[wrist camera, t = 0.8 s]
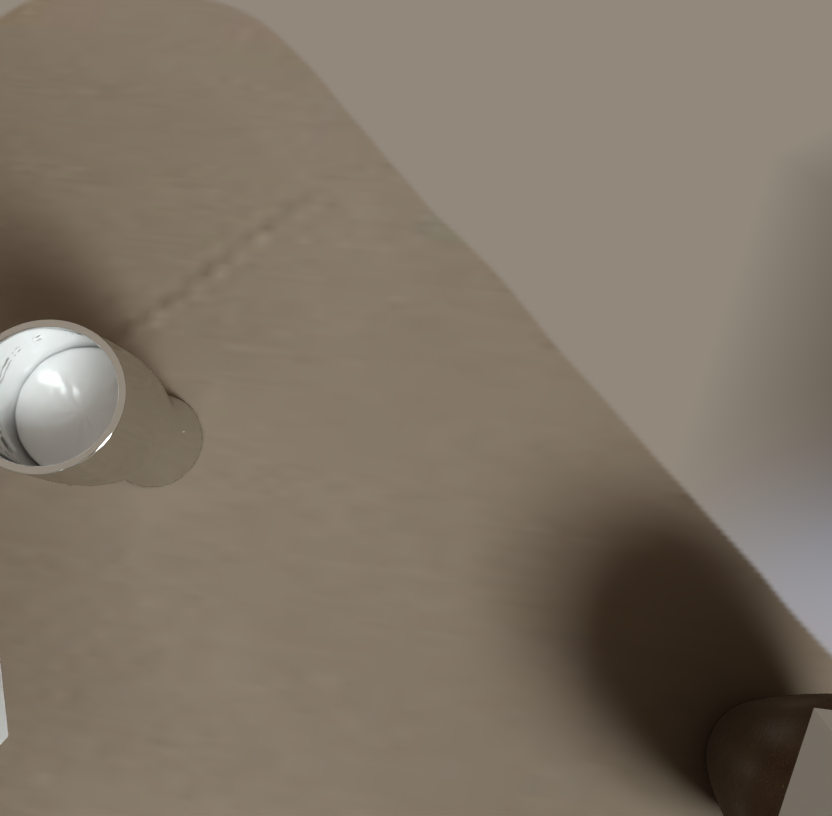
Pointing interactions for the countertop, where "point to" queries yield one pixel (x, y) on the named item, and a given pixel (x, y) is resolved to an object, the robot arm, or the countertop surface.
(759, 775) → the plant pot
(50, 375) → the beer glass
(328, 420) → the countertop surface
